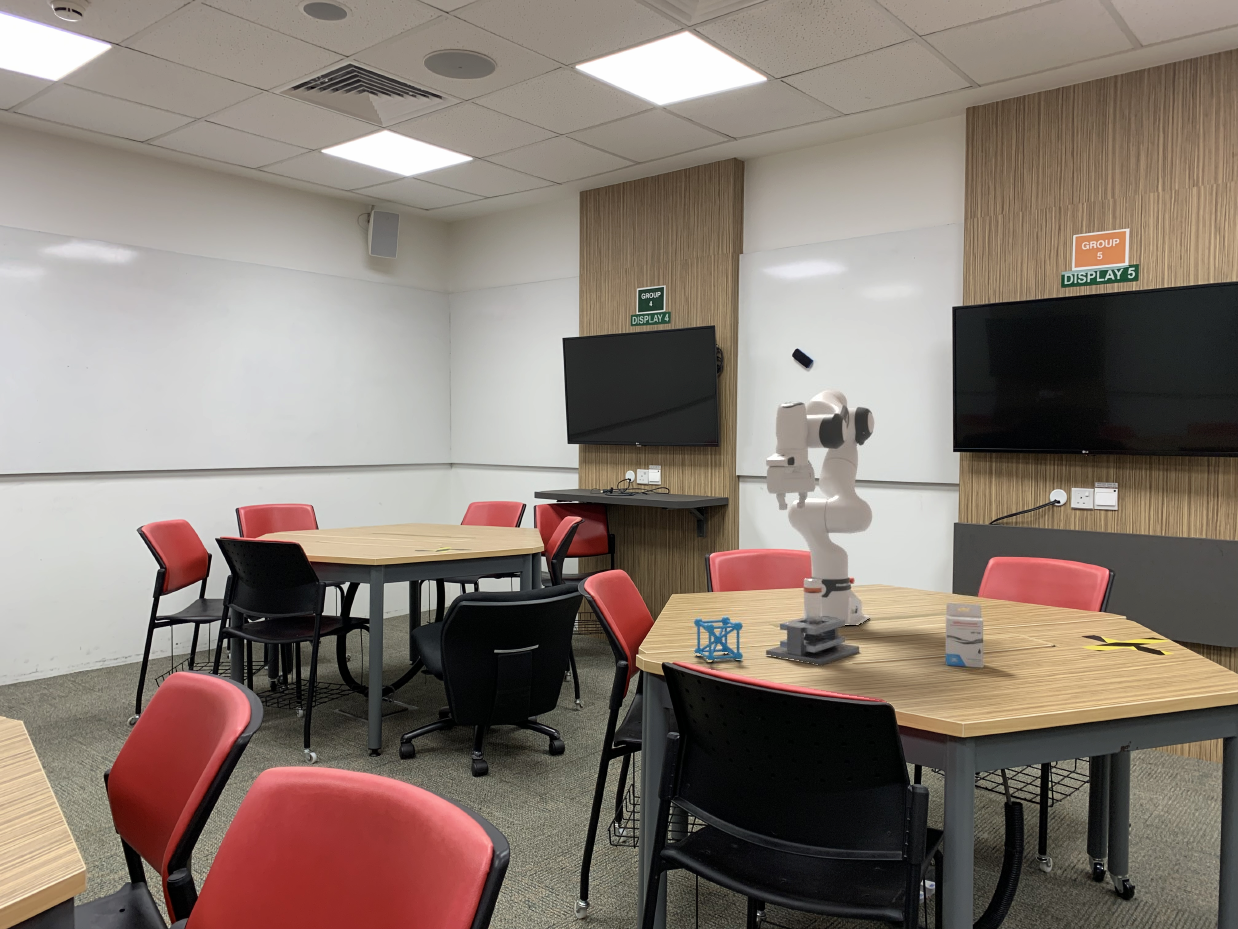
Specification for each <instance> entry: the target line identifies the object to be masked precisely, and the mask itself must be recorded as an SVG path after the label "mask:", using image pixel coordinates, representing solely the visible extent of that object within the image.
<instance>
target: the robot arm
mask: <svg viewBox="0 0 1238 929" xmlns="http://www.w3.org/2000/svg"><path fill="white" fill-rule="evenodd" d="M874 429H875V418H874V416H873V413H872V411H871V410H870V408H867V407H862V406H858V407H848V399H847V397H846V396H845V394H844V393H843V392H841V391H840V390H837V389H827V390H824V391H823V390H822V391H820V392H819V393H817V394H816V395H814V396H812V398H811V399H810V400H809V401H808V402H807V405H806V404H805V403H804V402H802V401H801V402H800V401H790V402H783V403H781V404H779V405H778V407H777V410H776V419H775V436H776V441H777V443H776V447H775V453H773V454H772V455H771V456H769V457H768V458H766V460H765V465H766V467H768V468H767V470H766V489H767V492H768V493H769V494H770V495H771V494H773V495H775V494H776V500H777V502H778V509H779V511H787V510H788V512H787V517H788V521H789V523H790V526H791V527H792V528H793V529H794V530H795V531H796V532H798V533H799V534H800V535H801V536H802V538H803V539H804V540H805V542H806V544H807V546H808V549H809V554H810V561H811V562H810V564H811V576H810V578H813V579H821V582H822V616H829V617H837V618H838V619H844V620H845V624H849V625H856V624H859V623H862V622H863V621H865V620H867V619H868V618H869V617H870V618H871V616H870V615H868V614H863V604H862V600H861V599H860V598H859V597H858V596H857V595H856V594H855V592H854V591H853V590H852V585H853V584H855V577H849V557H848V556H849V555H848V552H847V550H845V549H844V548H843V547H842V546H840V545H838V544H836V543H834V542H833V541H832V540H831V538H830V536H829V534H848V535H849V534H850V535H851V534H855V533H856V534H857V533H863V532H865V531H867V529H869V528H870V526H871V523H872V520H873V512H872V509H871V506H870V505H869V504H868V502H867V501H866V500H864V499H862V498H860V496H859V495H858V494H857V492H856V490H855V486H856V479H857V478H856V477H857V472H858V466H859V453H858V452H859V451H858V447H857V446H863V445H864V444H865V442H866V441H868V439H869V438H870V437H871V436H872V434H873V433H874ZM809 449H827V452H826V454H825V456H824V459H823V461H822V462H823V463H822V467H821V471H820V474H819V479H818V487H819V489H820V491H821V492H822V493H823V494H824V495H825V496H826V497H808V493H812V492H813V493H814V492H815V489H816V477H815V476H816V475H815V469H814V467H813V464H812V463H811V461H810V460H809ZM794 493H795V494H796V493H797V494H798V499H795V500H794V501H792V503H791V504H790V506H789V508H788V503H786V497H787V495H786V494H794ZM810 578H809V579H810ZM867 621H868V620H867ZM862 624H863V623H862Z"/></svg>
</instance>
